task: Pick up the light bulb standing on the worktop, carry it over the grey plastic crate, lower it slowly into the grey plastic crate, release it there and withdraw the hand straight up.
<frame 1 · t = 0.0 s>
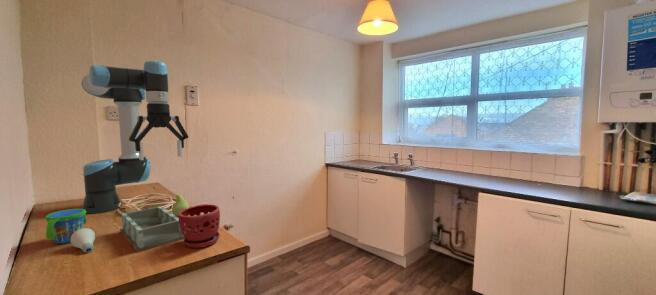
hand: (161, 158, 113), 28 cm above the worktop, fingers open, 13 cm apart
blue plastic tub: (69, 240, 105), on the worktop
grey plastic crate: (152, 235, 108), on the worktop
light bulb: (85, 249, 98), on the worktop
fruit: (180, 217, 129), on the worktop
plant pot: (201, 243, 102), on the worktop
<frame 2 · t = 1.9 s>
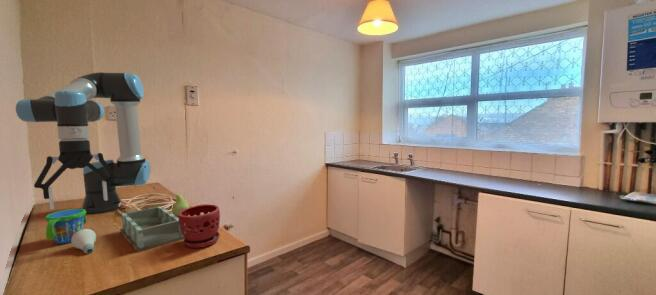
hand: (80, 204, 96), 15 cm above the worktop, fingers open, 13 cm apart
light bulb: (85, 250, 97), on the worktop
everything else where it was.
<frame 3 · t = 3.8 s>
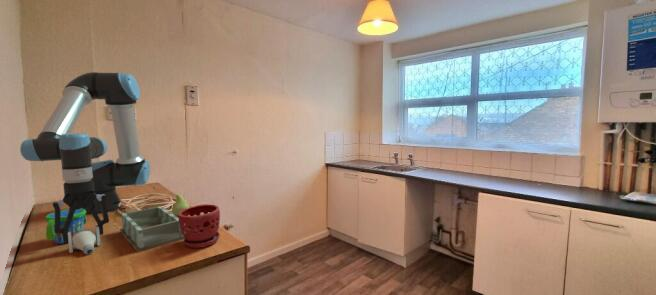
hand: (85, 247, 98), 0 cm above the worktop, fingers closed on light bulb, 6 cm apart
light bulb: (86, 250, 96), on the worktop, touching gripper
everything else where it was.
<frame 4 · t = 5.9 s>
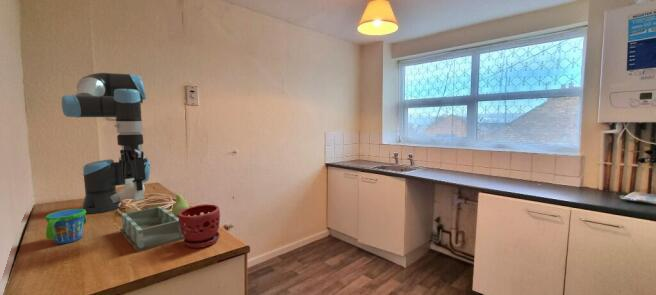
hand: (135, 197, 104), 15 cm above the worktop, fingers closed on light bulb, 6 cm apart
light bulb: (128, 200, 103), point 15 cm above the worktop, touching gripper
everything else where it was.
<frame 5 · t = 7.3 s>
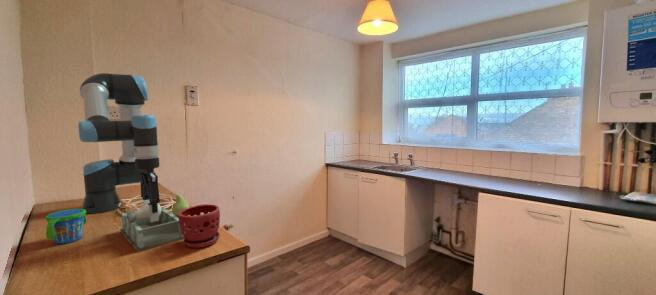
hand: (151, 218, 108), 6 cm above the worktop, fingers closed on light bulb, 6 cm apart
light bulb: (144, 220, 106), point 6 cm above the worktop, touching gripper, grey plastic crate
everything else where it was.
when the fingers open (3 cm above the worktop, at t = 8.3 s): light bulb moves 3 cm, resting on grey plastic crate.
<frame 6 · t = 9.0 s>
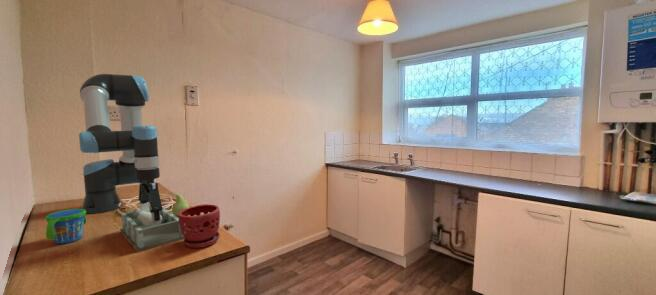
hand: (151, 224, 108), 4 cm above the worktop, fingers open, 13 cm apart
light bulb: (140, 223, 108), point 5 cm above the worktop, touching gripper, grey plastic crate
everything else where it was.
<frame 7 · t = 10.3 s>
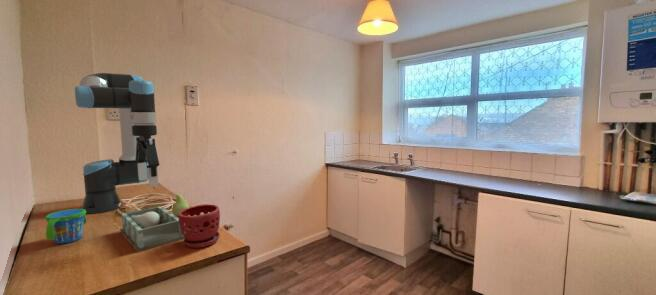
hand: (148, 182, 107), 20 cm above the worktop, fingers open, 13 cm apart
light bulb: (138, 223, 109), point 4 cm above the worktop, touching grey plastic crate
everything else where it was.
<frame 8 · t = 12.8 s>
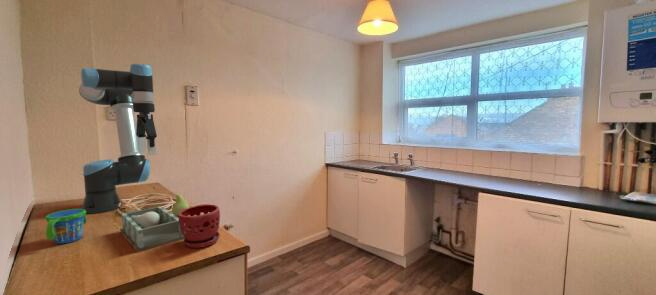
hand: (147, 153, 122), 29 cm above the worktop, fingers open, 13 cm apart
nothing on the worktop moved.
at the end: light bulb inside the target area on the grey plastic crate (5.9 cm from its centre), point 4.1 cm above the grey plastic crate's base; the gripper is holding nothing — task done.
